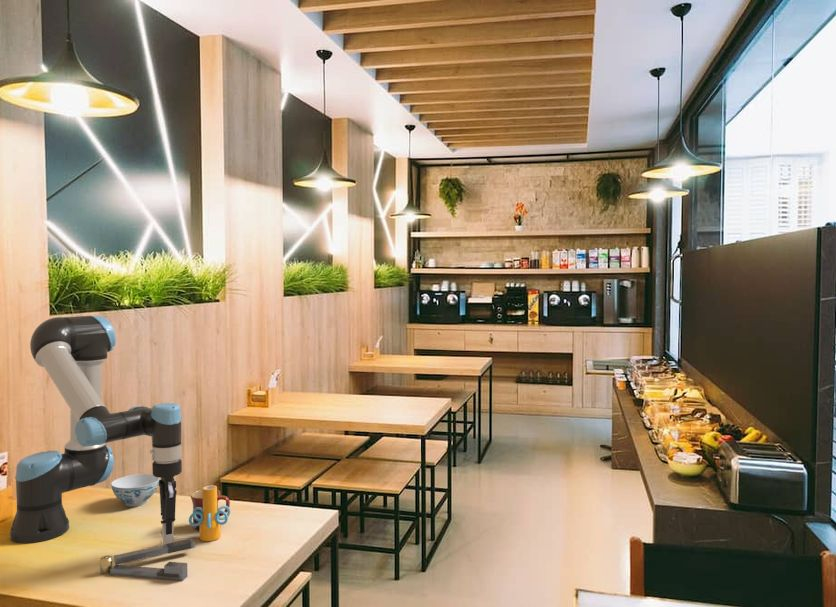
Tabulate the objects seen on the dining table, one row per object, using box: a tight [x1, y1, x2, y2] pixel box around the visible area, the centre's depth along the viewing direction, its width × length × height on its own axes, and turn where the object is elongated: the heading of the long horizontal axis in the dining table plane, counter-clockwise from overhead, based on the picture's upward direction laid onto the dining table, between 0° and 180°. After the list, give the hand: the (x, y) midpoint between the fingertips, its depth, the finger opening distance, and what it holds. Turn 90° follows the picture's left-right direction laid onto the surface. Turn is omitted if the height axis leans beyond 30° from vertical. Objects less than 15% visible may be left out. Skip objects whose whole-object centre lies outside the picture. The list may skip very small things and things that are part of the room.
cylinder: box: [188, 484, 231, 542], centre depth 185 cm, size 12×10×15 cm
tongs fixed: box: [99, 555, 188, 582], centre depth 161 cm, size 23×3×4 cm, turn 81°
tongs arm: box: [113, 538, 196, 566], centre depth 170 cm, size 20×3×2 cm, turn 123°
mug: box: [189, 489, 231, 530], centre depth 194 cm, size 12×9×10 cm
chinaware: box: [110, 473, 160, 508], centre depth 214 cm, size 15×15×8 cm
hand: (168, 544), depth 175 cm, fingers closed
